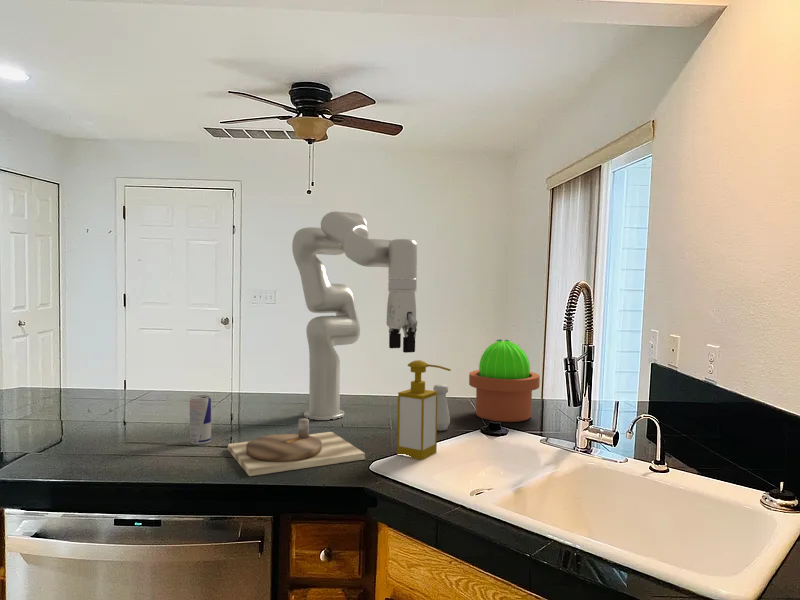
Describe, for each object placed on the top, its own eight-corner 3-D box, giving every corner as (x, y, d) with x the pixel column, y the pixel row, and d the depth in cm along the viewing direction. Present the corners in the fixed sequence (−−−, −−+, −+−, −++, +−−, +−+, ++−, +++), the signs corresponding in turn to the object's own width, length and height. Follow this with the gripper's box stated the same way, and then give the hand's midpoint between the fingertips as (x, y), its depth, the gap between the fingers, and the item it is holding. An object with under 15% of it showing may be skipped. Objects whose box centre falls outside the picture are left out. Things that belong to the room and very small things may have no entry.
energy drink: (215, 440, 159) (215, 396, 159) (202, 446, 154) (202, 400, 154) (198, 438, 161) (198, 394, 160) (185, 443, 156) (185, 398, 155)
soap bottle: (442, 464, 142) (443, 365, 141) (397, 455, 149) (398, 360, 148) (455, 456, 148) (457, 361, 147) (412, 448, 155) (413, 357, 154)
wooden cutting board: (227, 449, 151) (227, 441, 151) (331, 437, 164) (331, 429, 164) (249, 476, 132) (249, 466, 131) (364, 459, 145) (364, 450, 145)
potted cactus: (525, 428, 177) (527, 344, 176) (458, 418, 188) (459, 339, 187) (546, 413, 196) (548, 337, 195) (484, 405, 207) (485, 333, 206)
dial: (286, 465, 133) (286, 439, 133) (230, 452, 143) (230, 427, 142) (336, 446, 148) (336, 423, 148) (282, 435, 158) (282, 413, 158)
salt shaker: (448, 431, 171) (449, 386, 171) (428, 430, 172) (429, 385, 172) (451, 426, 177) (451, 383, 176) (431, 425, 178) (432, 382, 178)
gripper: (377, 285, 165) (377, 347, 166) (401, 286, 149) (401, 354, 150) (402, 285, 168) (402, 346, 169) (429, 286, 152) (428, 353, 153)
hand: (401, 350), depth 159 cm, fingers open, 9 cm apart
